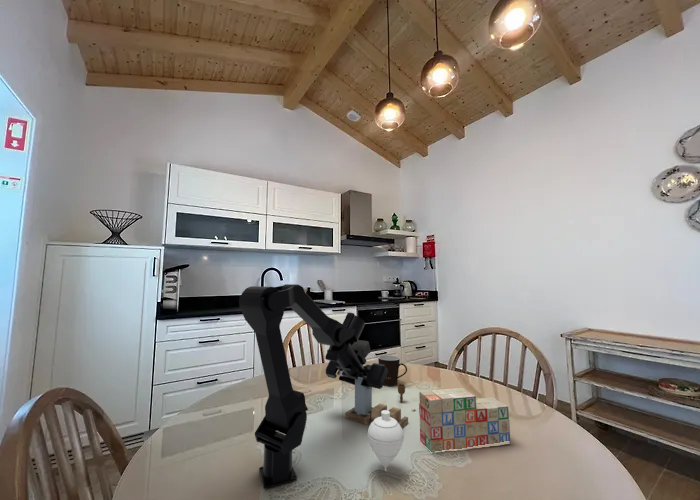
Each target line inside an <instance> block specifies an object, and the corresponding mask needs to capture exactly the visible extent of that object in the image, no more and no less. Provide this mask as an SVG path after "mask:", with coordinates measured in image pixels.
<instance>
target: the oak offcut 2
mask: <svg viewBox="0 0 700 500" xmlns="http://www.w3.org/2000/svg"><path fill="white" fill-rule="evenodd" d="M388 411H389V412H390V417H391V418H394V419H395V420H396V421H397V422H399V421H400V420H401V419H402V409H401V408H399V407H395V406H392V407H391V408H389V410H388Z"/></svg>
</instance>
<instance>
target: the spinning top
mask: <svg viewBox="0 0 700 500" xmlns="http://www.w3.org/2000/svg"><path fill="white" fill-rule="evenodd" d="M404 435H405V434H404V430H403V428H401V426H400V425H399V423H398V422H397V421H396V420H395V419H394V418H391V417H390V412H389V410H388V409H387V410H383V411H381V417H377V418H375V419H374V421H373V422H372V423H370V424H369V427H368V430H367V440H368V443H369V445H370V448H371V450H372V452H373V453H374V455H375V456H376V458H377V459H378V461H379V462H380V464H381V465H382V466H383V467H384V471H386V472H387V468H388V467H389V466H390V465H391V463H392V462H393V461H394V460H395V459H396V457H397V456H398V454H399V453H400V450H401V449H402V446H403V445H404V444H403V443H404V437H405V436H404Z"/></svg>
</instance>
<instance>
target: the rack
mask: <svg viewBox="0 0 700 500" xmlns="http://www.w3.org/2000/svg"><path fill="white" fill-rule="evenodd" d="M372 408H374V407H373V406H372ZM344 414H345V416H344V417H345V419H347V420H351V421H352V422H353V421H354V422H358V423H360V424H362V425H365V426H368V425H370V424H371V411H370V412H368V413H367V414H369V415H367V416H365V415H364V416H363V415H362V414H358V413H357V412H355V406H353V407H352V408H351V409H349V410H348V411H346V412H345V413H344ZM398 423H399V425H400V426H401V428H402V429H403V428H404V427H406V425H407V424H409V417H408V416H406V415H404V416H403V417H401V420H400V421H399V422H398Z"/></svg>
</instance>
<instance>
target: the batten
mask: <svg viewBox="0 0 700 500" xmlns="http://www.w3.org/2000/svg"><path fill="white" fill-rule="evenodd" d="M363 366H365V364H363ZM362 380H363V378H359V377H358V379H355V385H354V407H355V412H357V413H356V414H359V415H362V416H363V415H364V416H365V415H367V414H369V413H368V412H370V411H371V409H372V407H373V402H372V401H373V400H372V399H373V396H372V395H373V393H372V392H373V391H372V390H373V388H372V389H368V388H366V387H364V386H361V383H362Z"/></svg>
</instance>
